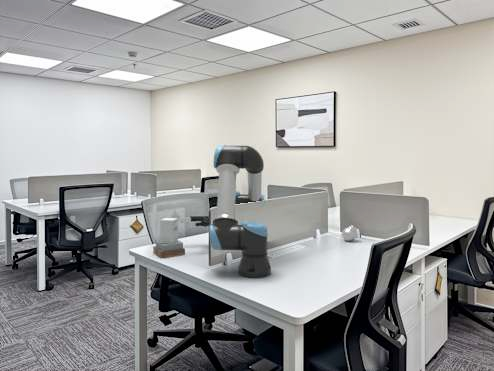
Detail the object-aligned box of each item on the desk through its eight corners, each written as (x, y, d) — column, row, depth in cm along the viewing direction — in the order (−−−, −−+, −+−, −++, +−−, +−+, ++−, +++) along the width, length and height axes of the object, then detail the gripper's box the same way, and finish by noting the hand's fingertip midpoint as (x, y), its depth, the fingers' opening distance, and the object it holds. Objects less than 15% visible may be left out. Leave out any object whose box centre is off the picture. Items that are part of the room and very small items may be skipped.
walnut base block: (184, 255, 203) (184, 248, 203) (161, 259, 196) (161, 252, 196) (175, 250, 214) (175, 243, 214) (153, 253, 207) (153, 246, 207)
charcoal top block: (183, 248, 203) (183, 242, 203) (163, 251, 197) (163, 245, 197) (174, 244, 212) (174, 238, 212) (155, 246, 206) (155, 241, 206)
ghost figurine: (353, 243, 227) (353, 227, 226) (339, 241, 234) (339, 225, 233) (360, 241, 234) (360, 225, 233) (346, 238, 240) (346, 223, 239)
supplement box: (173, 244, 200) (173, 220, 199) (160, 243, 202) (159, 219, 200) (178, 240, 208) (177, 217, 206) (165, 239, 209) (165, 217, 208)
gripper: (229, 229, 210) (193, 233, 198) (209, 221, 231) (176, 225, 219) (229, 216, 209) (193, 219, 198) (209, 209, 230) (176, 212, 219)
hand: (184, 222), depth 209 cm, fingers open, 13 cm apart
